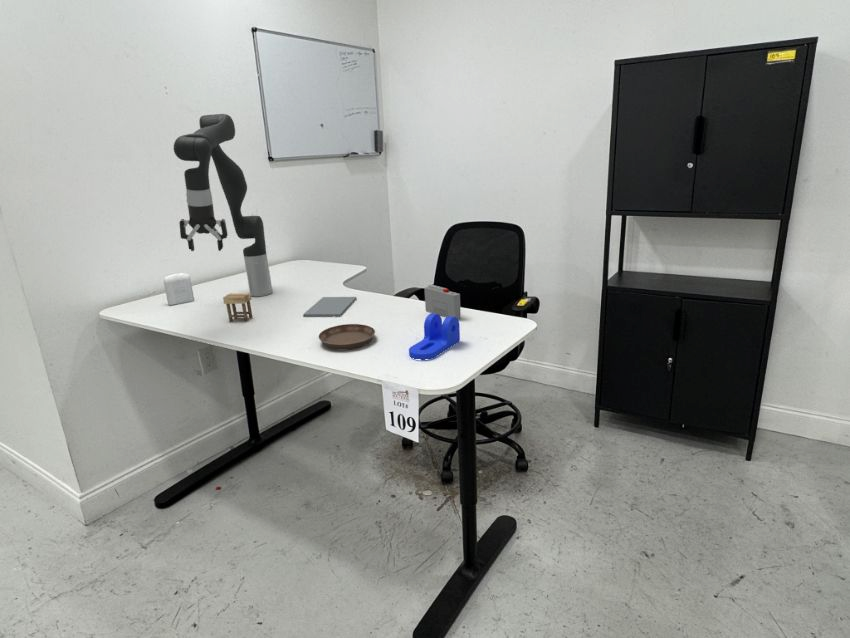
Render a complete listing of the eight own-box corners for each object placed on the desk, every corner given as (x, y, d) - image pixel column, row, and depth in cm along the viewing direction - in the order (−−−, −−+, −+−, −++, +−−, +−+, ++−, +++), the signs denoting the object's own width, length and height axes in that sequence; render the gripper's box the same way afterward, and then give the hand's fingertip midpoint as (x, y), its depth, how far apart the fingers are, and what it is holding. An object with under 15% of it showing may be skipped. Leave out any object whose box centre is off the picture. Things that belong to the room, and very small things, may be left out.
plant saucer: (386, 341, 165) (386, 331, 164) (339, 357, 154) (338, 348, 153) (355, 328, 178) (354, 320, 177) (309, 343, 167) (308, 334, 166)
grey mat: (323, 299, 212) (323, 297, 212) (356, 299, 210) (356, 296, 210) (303, 316, 192) (303, 314, 191) (340, 316, 190) (339, 314, 189)
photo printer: (193, 299, 224) (187, 270, 220) (195, 301, 220) (189, 272, 216) (167, 304, 218) (161, 275, 214) (169, 306, 215) (162, 277, 211)
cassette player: (460, 318, 181) (459, 291, 177) (454, 320, 179) (453, 292, 176) (431, 309, 192) (430, 283, 189) (425, 311, 191) (424, 284, 187)
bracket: (437, 337, 165) (435, 310, 162) (459, 342, 160) (459, 314, 158) (403, 357, 151) (401, 328, 148) (427, 363, 146) (425, 333, 144)
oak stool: (234, 317, 196) (230, 293, 193) (254, 317, 194) (250, 293, 191) (227, 322, 191) (222, 297, 188) (248, 322, 190) (243, 297, 187)
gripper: (225, 199, 173) (230, 246, 180) (178, 199, 170) (185, 246, 177) (221, 205, 166) (227, 253, 174) (173, 205, 163) (181, 254, 171)
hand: (206, 250), depth 175 cm, fingers open, 8 cm apart
